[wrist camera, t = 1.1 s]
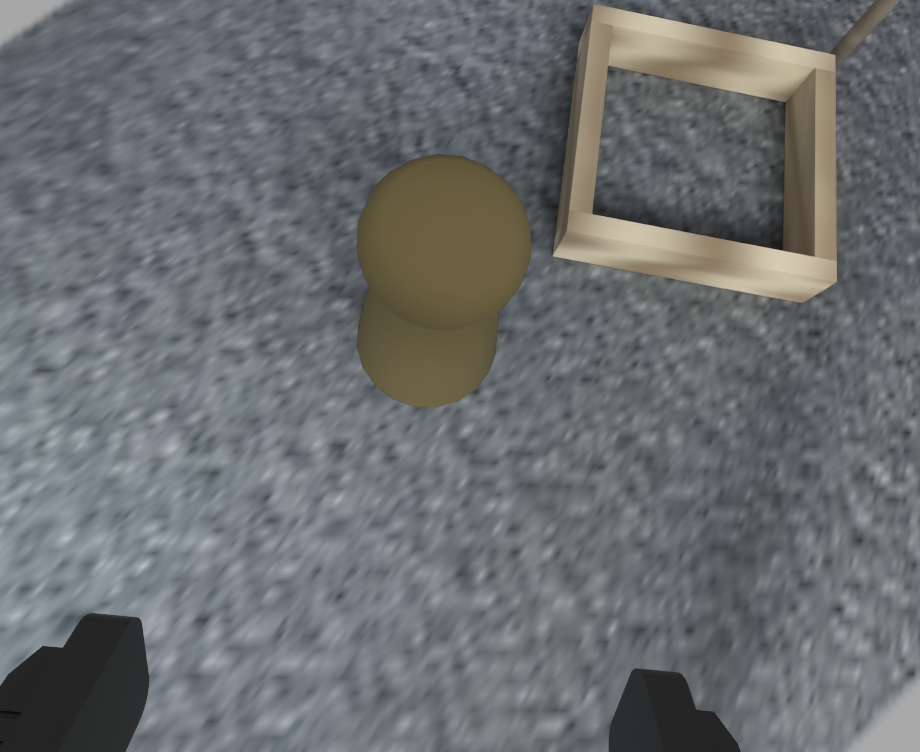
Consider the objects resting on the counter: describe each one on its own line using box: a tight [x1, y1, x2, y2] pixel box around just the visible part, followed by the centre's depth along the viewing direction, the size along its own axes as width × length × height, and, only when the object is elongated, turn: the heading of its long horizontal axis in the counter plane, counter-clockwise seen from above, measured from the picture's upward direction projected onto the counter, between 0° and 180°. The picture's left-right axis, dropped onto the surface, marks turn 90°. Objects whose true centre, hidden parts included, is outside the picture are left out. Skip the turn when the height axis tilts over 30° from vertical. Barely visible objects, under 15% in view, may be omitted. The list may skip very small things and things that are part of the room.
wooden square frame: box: [553, 0, 900, 303], centre depth 25 cm, size 17×13×16 cm
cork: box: [357, 154, 531, 407], centre depth 24 cm, size 6×6×11 cm
